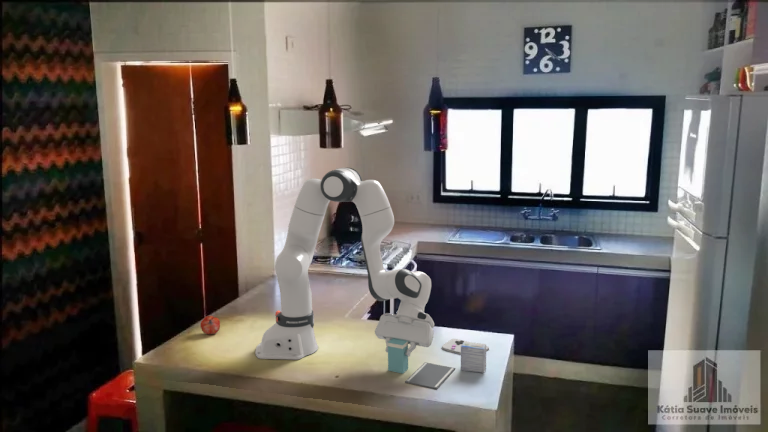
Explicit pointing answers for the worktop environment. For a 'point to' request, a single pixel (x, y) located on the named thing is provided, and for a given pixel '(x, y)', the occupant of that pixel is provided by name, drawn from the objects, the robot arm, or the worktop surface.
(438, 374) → the mat
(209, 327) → the orange pumpkin
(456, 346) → the handheld gaming console
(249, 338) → the worktop surface
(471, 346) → the medicine box
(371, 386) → the worktop surface
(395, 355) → the tea box
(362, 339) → the worktop surface
